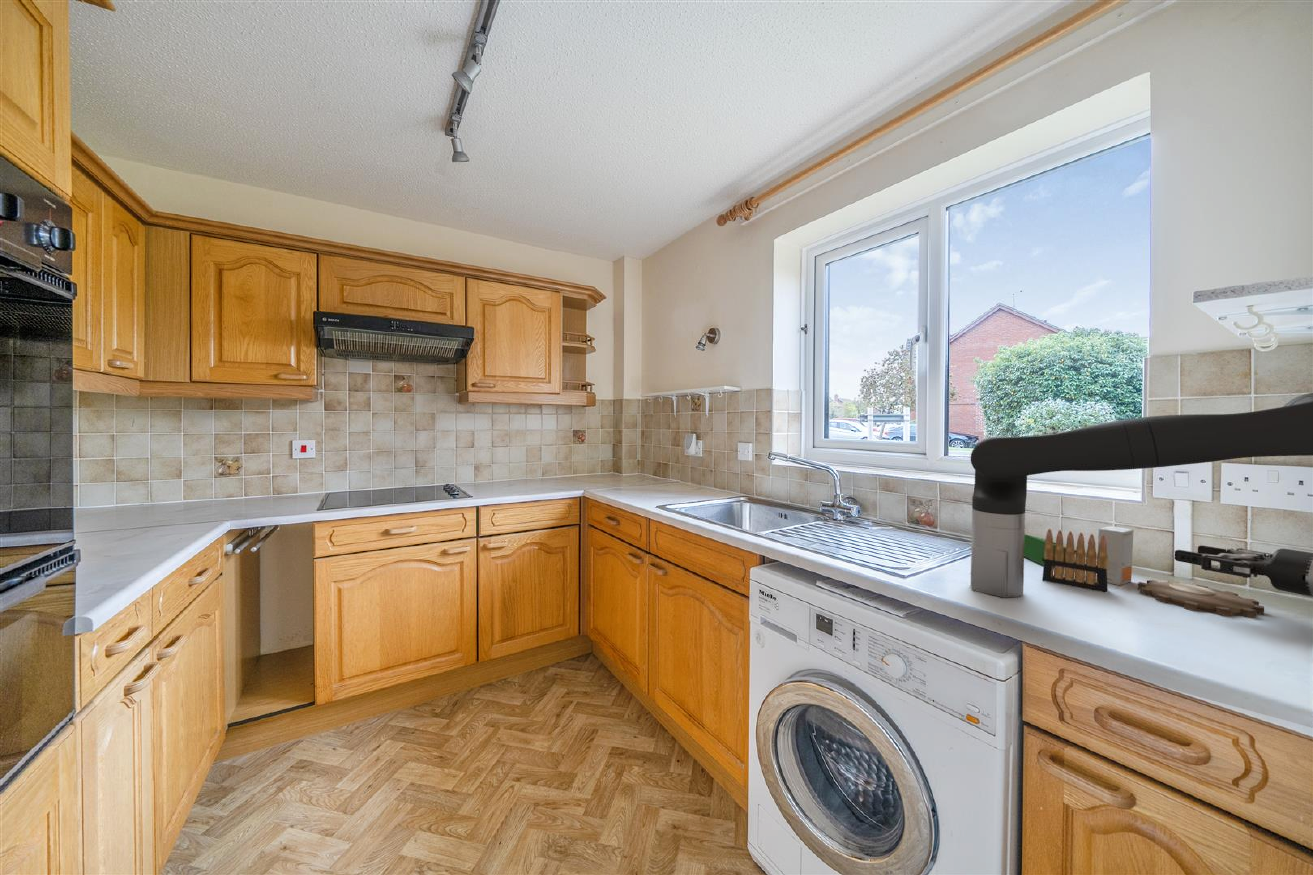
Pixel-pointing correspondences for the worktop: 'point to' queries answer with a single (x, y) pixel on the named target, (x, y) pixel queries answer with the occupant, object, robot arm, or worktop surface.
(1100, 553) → the ammunition clip
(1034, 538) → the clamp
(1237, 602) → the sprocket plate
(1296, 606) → the worktop surface
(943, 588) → the worktop surface
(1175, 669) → the worktop surface
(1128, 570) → the skincare box
